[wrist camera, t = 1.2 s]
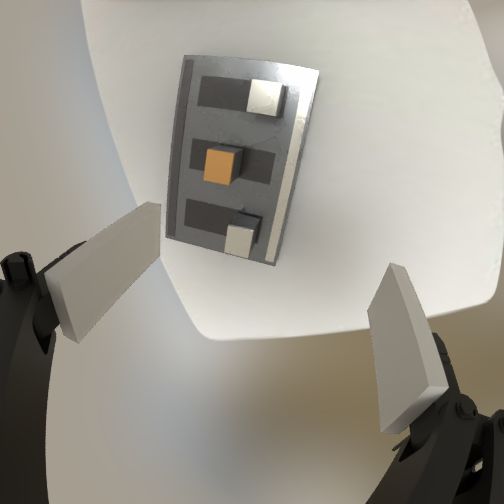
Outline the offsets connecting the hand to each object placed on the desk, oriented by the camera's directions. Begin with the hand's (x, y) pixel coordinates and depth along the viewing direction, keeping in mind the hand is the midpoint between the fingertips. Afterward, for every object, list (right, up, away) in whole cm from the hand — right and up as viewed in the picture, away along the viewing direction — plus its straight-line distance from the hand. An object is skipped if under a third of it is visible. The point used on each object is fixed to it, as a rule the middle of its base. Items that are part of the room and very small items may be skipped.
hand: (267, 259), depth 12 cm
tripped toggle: (-3, +10, +16) cm, 19 cm away
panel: (-2, +11, +18) cm, 21 cm away
